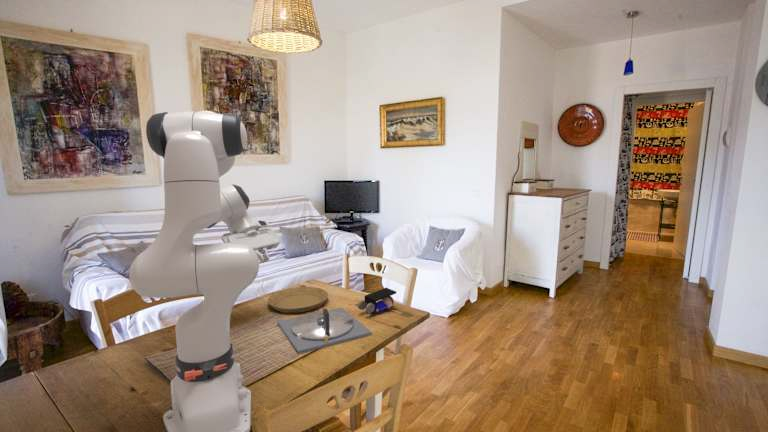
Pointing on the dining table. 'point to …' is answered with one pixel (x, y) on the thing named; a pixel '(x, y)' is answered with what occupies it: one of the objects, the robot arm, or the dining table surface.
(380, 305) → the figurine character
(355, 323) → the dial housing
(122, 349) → the dining table surface
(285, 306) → the plant saucer
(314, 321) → the dial
